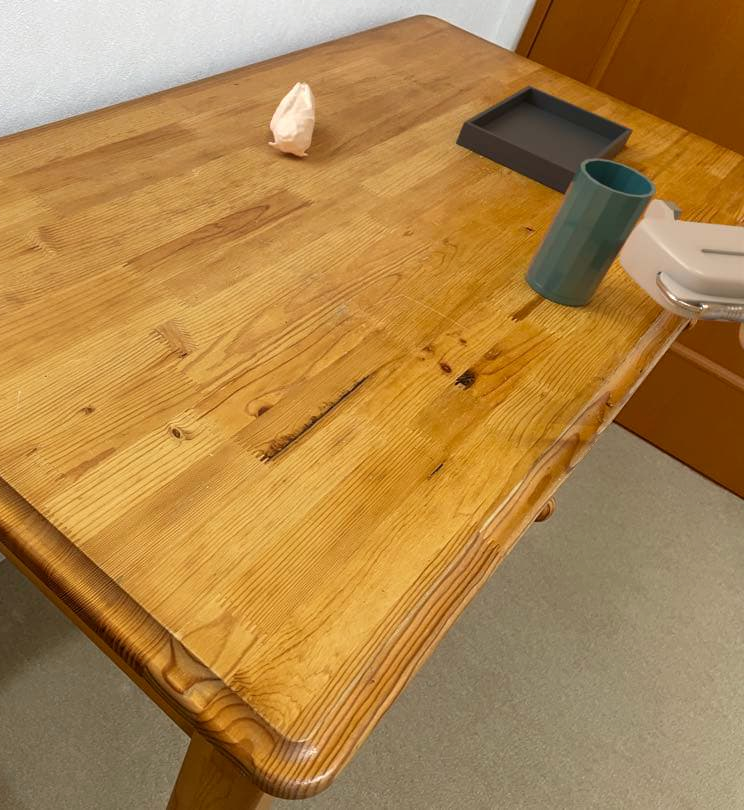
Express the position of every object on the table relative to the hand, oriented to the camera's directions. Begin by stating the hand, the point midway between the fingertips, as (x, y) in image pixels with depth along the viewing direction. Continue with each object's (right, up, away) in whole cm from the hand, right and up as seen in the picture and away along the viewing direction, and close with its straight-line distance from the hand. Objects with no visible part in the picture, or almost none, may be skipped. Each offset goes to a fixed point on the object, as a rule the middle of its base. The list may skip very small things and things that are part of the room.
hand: (710, 213), depth 66 cm
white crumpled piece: (-29, +15, +33) cm, 46 cm away
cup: (-4, -3, +19) cm, 20 cm away
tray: (+5, +19, +44) cm, 48 cm away
